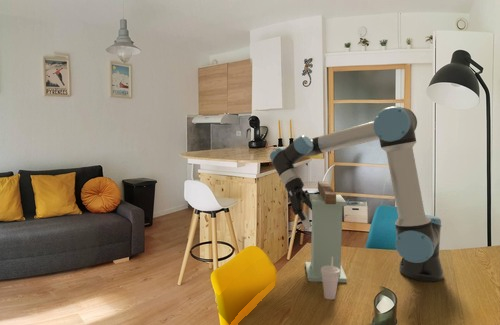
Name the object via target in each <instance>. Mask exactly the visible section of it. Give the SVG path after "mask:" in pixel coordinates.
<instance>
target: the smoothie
mask: <svg viewBox="0 0 500 325" xmlns="http://www.w3.org/2000/svg"><path fill="white" fill-rule="evenodd" d="M321 273H322V281H323V282H322V288H323V296H324V299H327V300H335V299H336V296H337V295H336V294H337V290H338V284H339V282H338V278H339V274H340V269H339V268H337V267H335V266H333V257H332V261H331V266H323V267H321Z"/></svg>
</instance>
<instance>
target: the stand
mask: <svg viewBox="0 0 500 325" xmlns="http://www.w3.org/2000/svg"><path fill="white" fill-rule="evenodd" d="M309 194H310V196H309V198H310V201H311V203H312V210H311V225H312V226H311V234H310V235H311V239H310V240H311V244H310V245H311V247H310V248H311V249H310V261H305V270H306V277H307V280H308V282H322V283H323V281H322V273H321V267H323V266H331V261H332V257H333V266H335V267H337V268H339V269H340V274H339V278H338V283H346V284H347V282H348V279H347V276H346V273H345V271H344V269H343V266H342V238H343V236H342V235H343V234H342V233H343V207H345V206H347V201H346V200H345V199H344V198H343V196H342V195H341V194H336V204H325V202H324V200H323V198H322V196H321V194H320V193H319V194H316V193H314V194H313V193H312V194H311V193H309Z"/></svg>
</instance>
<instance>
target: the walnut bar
mask: <svg viewBox="0 0 500 325" xmlns="http://www.w3.org/2000/svg"><path fill="white" fill-rule="evenodd" d="M317 191H318V193H319V194H321V196H322V198H323V200H324V202H325V204H336V195H337V194H336V192H335V191H334V190H333V188H332V187H331V186H330V184H329V182H327V181H326V180H325V181H323V180H321V181H320V180H319V181H317Z"/></svg>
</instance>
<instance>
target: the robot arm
mask: <svg viewBox="0 0 500 325" xmlns="http://www.w3.org/2000/svg"><path fill="white" fill-rule="evenodd" d="M417 125H418V118H417V116H416V115H415V113H414V112H413V111H412V110H410V109H409V108H406V107H401V106H396V105H394V106H389V107H385V108H383V109H382V110H380V111H379V112H378V113H377V115H376V116H375V118H374V120H373V121H370V122H369V121H368V122H366V123H362V124H359V125H355V126H352V127H349V128H345V129H342V130H337V131H334V132H331V133H328V134H323V135H320V136H317V137H313V138H309V137H308V136H306V135H300V136H299V137H297V138H296V139H295V140H293V142H292V143H291V144H289V145H288V146H286V147H285V148H283V147H278V148H276V149H274V150H272V151H271V153H269V154H270V155H269V159H270V161H271V163H272V165H273V167H274V168H275V171H276V172H277V175H278V177H279V178H280V181H281V182H282V184H283V185H284V189H286V191H287V192H286V193H287V195H288V197H289V202H290V205H291V210H292V213H294V215H295V216H298V217H299V220H300V221H301V223H302V225H303V227H304V229H305V230H308V229H309V228H312V222H311V221H310V220H309V217H308V216H307V214H306V212H305V211H304V210H303V204H305V205H306V206H307V207H308V208H309V209H310V210H311V211H312V203H311V201H310V198H309V196H310V194H311V193H309V191H308V189H306V190H303V188H304V186H305V184H304V182H303V180H302V178H301V177H300V175H299V173H298V171H297V169H296V167H295V166H294V165H295V164H296V163H297V162H298V161H299V160H301V159H304V158H308V157H312V156H317V155H321V154H325V153H329V152H333V151H337V150H341V149H346V148H349V147H354V146H356V145H357V146H358V145H362V144H365V143H369V142H373V141H378V140H379V144H380V149H382V150H383V151H385V152H386V158H387V163H388V168H389V173H390V180H391V186H392V190H393V195H394V200H395V201H394V202H395V206H396V211H397V216H398V218H397V219H396V221H395V222H394V226H395V232H396V238H395V250H396V252H397V253H398V255H399V256H400V257H401V260H400V262H399V272H400V273H401V274H402V275H404V276H405V277H408V278H410V279H412V280H416V281H421V282H425V283H426V282H429V283H431V282H432V283H433V282H439V281H441V280H443V278H444V270H443V267H442V264H441V261H440V260H441V259H440V245H441V244H440V243H441V242H440V241H441V227H442V220H441V218H439V217H438V216H433V215H429V214H425V208H424V207H425V206H424V203H423V202H424V201H423V198H422V192H421V186H420V181H419V174H418V170H417V165H416V164H417V163H416V159H415V154H414V148H413V147H414V145H415V144H416V143H417V139H416V128H417V127H418V126H417Z"/></svg>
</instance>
